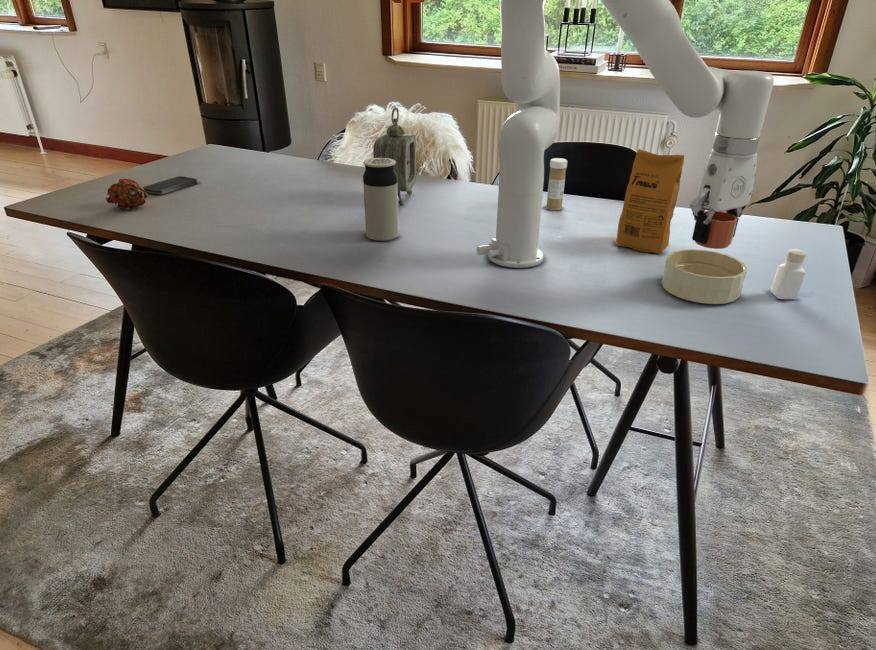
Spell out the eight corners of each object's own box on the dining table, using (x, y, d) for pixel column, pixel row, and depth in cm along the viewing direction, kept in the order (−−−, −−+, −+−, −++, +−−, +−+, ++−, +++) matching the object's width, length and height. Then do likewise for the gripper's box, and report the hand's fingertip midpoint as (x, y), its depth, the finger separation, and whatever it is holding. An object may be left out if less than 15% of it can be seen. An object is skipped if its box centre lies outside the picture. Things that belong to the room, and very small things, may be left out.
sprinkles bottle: (553, 205, 178) (558, 156, 171) (565, 209, 175) (571, 160, 168) (542, 208, 176) (546, 159, 169) (554, 212, 173) (559, 162, 166)
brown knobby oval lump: (147, 217, 167) (116, 218, 172) (161, 192, 171) (130, 193, 175) (123, 197, 160) (91, 197, 165) (137, 171, 163) (106, 172, 168)
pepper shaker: (787, 292, 129) (801, 248, 124) (797, 300, 126) (812, 255, 121) (768, 291, 129) (782, 248, 124) (778, 300, 125) (792, 255, 121)
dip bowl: (713, 251, 120) (720, 223, 117) (685, 240, 125) (691, 213, 122) (738, 245, 123) (745, 218, 120) (709, 235, 128) (716, 208, 125)
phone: (198, 179, 191) (159, 191, 179) (199, 182, 191) (160, 195, 180) (179, 175, 194) (139, 187, 182) (180, 179, 194) (140, 191, 182)
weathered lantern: (406, 208, 173) (404, 112, 160) (374, 206, 174) (370, 111, 162) (416, 193, 186) (415, 103, 173) (386, 192, 187) (383, 102, 174)
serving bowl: (703, 312, 120) (710, 283, 117) (645, 283, 132) (651, 256, 128) (755, 296, 127) (763, 269, 124) (696, 270, 138) (702, 244, 135)
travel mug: (403, 232, 156) (401, 158, 147) (392, 243, 150) (389, 166, 140) (373, 229, 158) (369, 156, 149) (361, 239, 151) (356, 163, 142)
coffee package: (623, 234, 158) (638, 144, 146) (673, 244, 152) (692, 151, 140) (609, 245, 151) (623, 151, 139) (660, 257, 145) (679, 160, 133)
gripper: (719, 154, 108) (697, 252, 117) (783, 144, 115) (758, 237, 124) (685, 146, 113) (666, 240, 123) (749, 137, 121) (727, 226, 130)
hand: (713, 238), depth 123 cm, fingers closed on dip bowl, 7 cm apart
